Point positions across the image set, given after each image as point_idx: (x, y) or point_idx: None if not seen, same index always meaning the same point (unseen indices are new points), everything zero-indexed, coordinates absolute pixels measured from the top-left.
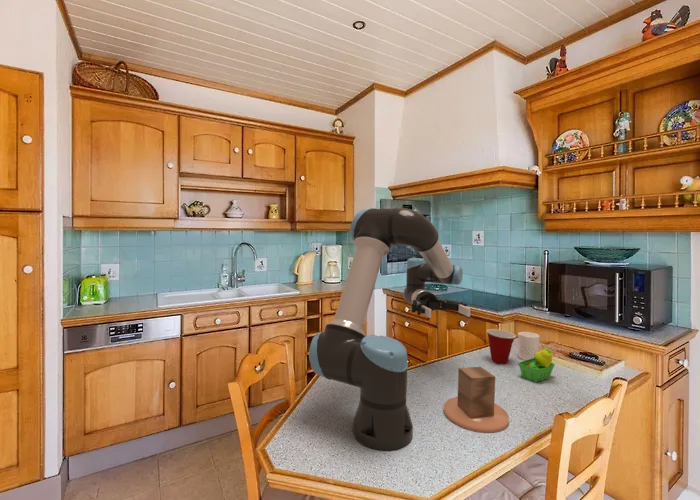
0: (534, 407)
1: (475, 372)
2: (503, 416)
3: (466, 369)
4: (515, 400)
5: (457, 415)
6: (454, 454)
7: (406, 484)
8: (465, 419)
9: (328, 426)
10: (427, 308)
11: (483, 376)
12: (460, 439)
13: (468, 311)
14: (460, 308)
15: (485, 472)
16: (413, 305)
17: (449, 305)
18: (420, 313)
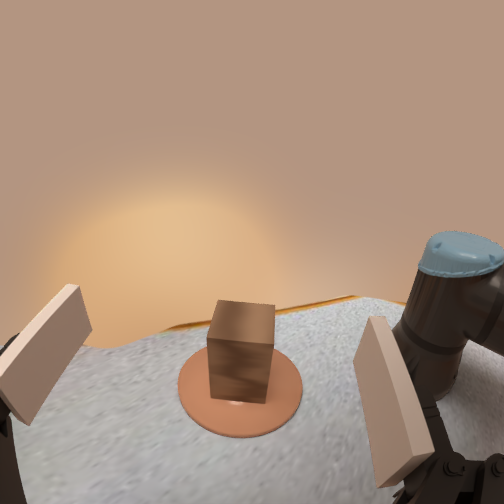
0: (108, 369)
1: (246, 319)
2: (202, 356)
3: (257, 334)
4: (112, 397)
5: (285, 377)
6: (327, 326)
7: (386, 306)
8: (277, 365)
9: (479, 381)
10: (394, 341)
11: (243, 305)
12: (306, 344)
13: (82, 302)
14: (27, 377)
15: (305, 304)
16: (498, 453)
17: (2, 490)
18: (400, 490)
